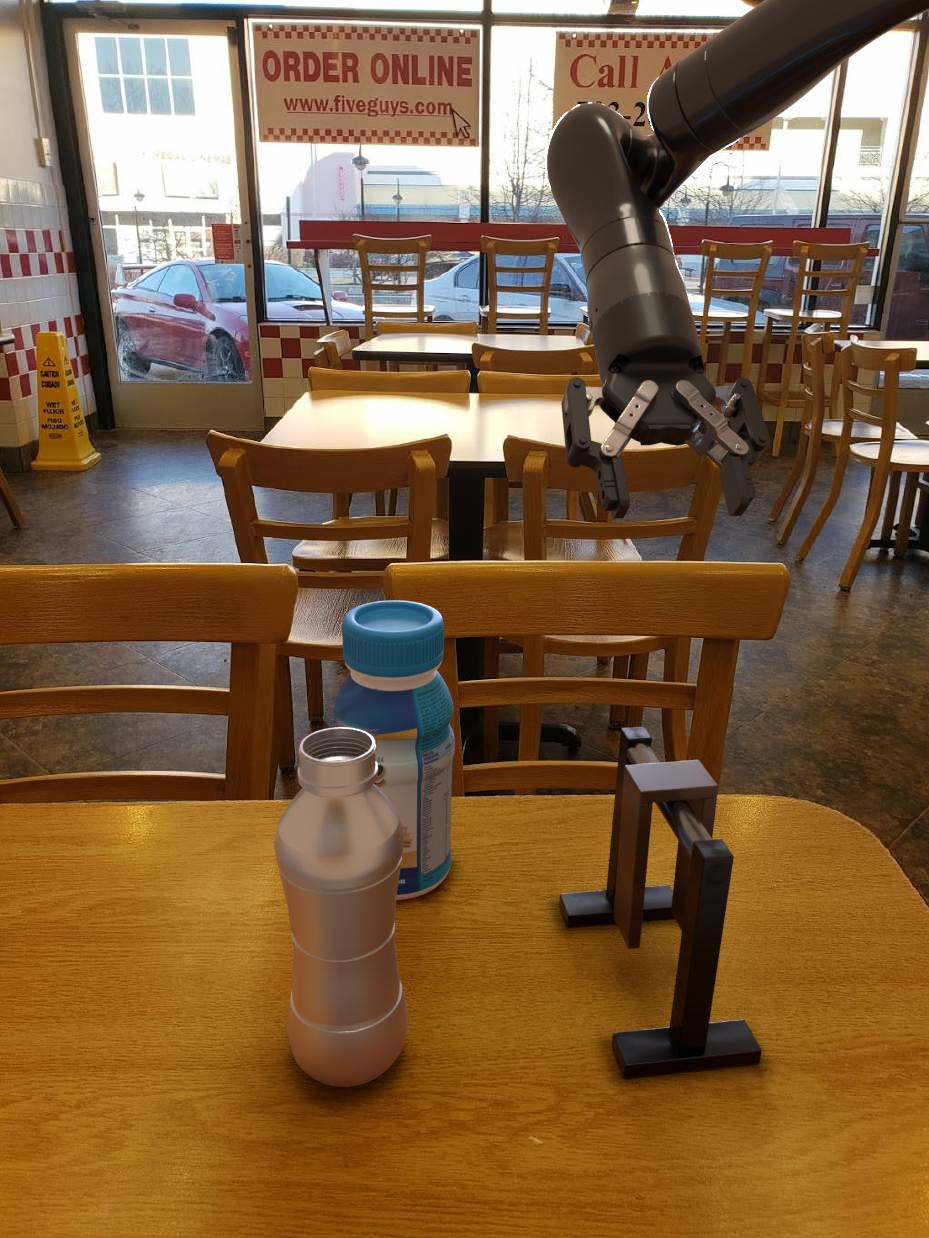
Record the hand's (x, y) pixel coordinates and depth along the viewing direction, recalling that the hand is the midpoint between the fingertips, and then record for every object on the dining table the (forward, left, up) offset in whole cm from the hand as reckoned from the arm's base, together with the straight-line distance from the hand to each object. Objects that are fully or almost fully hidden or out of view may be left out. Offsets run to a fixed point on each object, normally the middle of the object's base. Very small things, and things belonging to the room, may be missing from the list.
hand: (681, 512), depth 64 cm
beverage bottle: (+20, +2, -26) cm, 33 cm away
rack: (+5, +15, -26) cm, 30 cm away
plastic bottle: (+24, +19, -26) cm, 40 cm away
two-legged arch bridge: (+5, +15, -23) cm, 27 cm away
